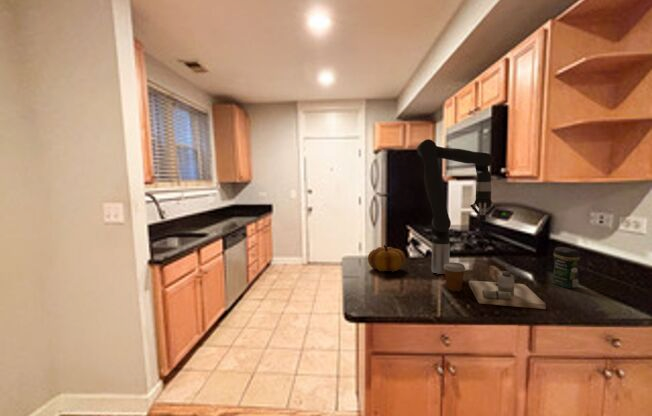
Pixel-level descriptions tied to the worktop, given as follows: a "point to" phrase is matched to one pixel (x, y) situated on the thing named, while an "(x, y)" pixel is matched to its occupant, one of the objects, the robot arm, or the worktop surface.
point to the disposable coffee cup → (454, 275)
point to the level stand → (505, 295)
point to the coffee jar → (566, 267)
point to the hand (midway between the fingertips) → (482, 221)
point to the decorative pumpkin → (386, 259)
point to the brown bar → (503, 280)
